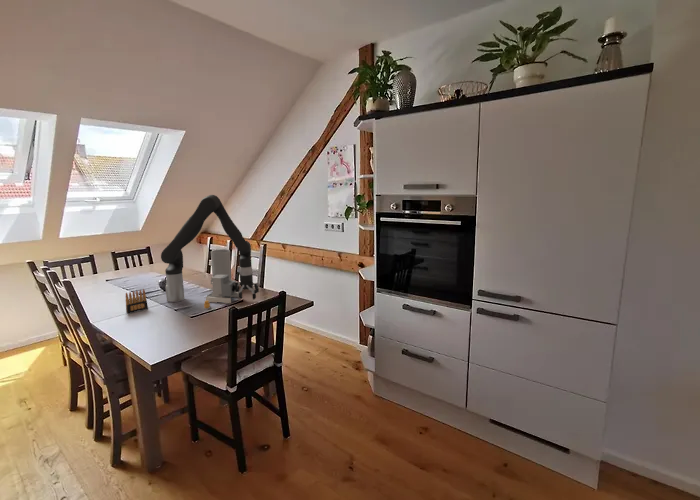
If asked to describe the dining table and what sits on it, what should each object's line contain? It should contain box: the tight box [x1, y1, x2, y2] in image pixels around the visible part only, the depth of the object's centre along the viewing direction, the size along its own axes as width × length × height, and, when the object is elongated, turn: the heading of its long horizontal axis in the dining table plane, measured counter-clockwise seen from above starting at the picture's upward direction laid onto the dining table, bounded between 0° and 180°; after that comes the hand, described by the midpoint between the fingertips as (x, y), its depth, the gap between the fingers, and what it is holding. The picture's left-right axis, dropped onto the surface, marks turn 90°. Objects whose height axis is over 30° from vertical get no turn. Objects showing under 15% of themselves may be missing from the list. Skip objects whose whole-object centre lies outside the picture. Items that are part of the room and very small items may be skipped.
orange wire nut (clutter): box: [203, 300, 211, 309], centre depth 210 cm, size 3×3×4 cm
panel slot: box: [205, 291, 240, 304], centre depth 224 cm, size 16×12×4 cm
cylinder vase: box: [210, 248, 233, 281], centre depth 251 cm, size 12×12×25 cm
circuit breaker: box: [210, 275, 237, 298], centre depth 222 cm, size 8×14×15 cm, turn 82°
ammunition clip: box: [125, 288, 149, 315], centre depth 203 cm, size 11×2×12 cm, turn 138°
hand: (247, 298), depth 222 cm, fingers open, 8 cm apart
